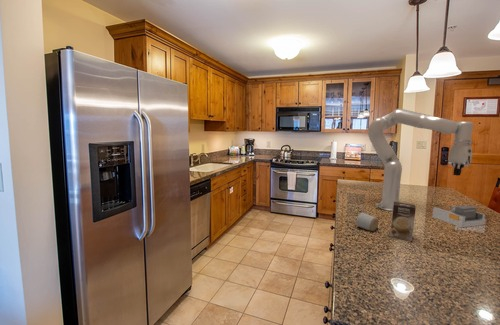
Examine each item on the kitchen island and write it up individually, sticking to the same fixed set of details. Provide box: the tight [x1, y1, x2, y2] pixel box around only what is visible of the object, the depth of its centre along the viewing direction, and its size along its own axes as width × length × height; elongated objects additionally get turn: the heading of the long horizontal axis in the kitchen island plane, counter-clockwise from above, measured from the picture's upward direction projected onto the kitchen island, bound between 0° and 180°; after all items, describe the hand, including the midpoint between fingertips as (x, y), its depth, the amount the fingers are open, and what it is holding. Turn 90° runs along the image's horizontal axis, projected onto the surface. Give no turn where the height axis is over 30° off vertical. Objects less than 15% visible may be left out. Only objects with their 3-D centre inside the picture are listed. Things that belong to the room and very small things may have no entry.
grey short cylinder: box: [356, 212, 379, 232], centre depth 133 cm, size 11×8×8 cm
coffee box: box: [389, 201, 417, 242], centre depth 123 cm, size 9×6×16 cm
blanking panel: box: [455, 205, 477, 220], centre depth 143 cm, size 10×4×8 cm, turn 106°
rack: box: [432, 205, 486, 228], centre depth 146 cm, size 16×16×6 cm
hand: (456, 175), depth 149 cm, fingers closed
